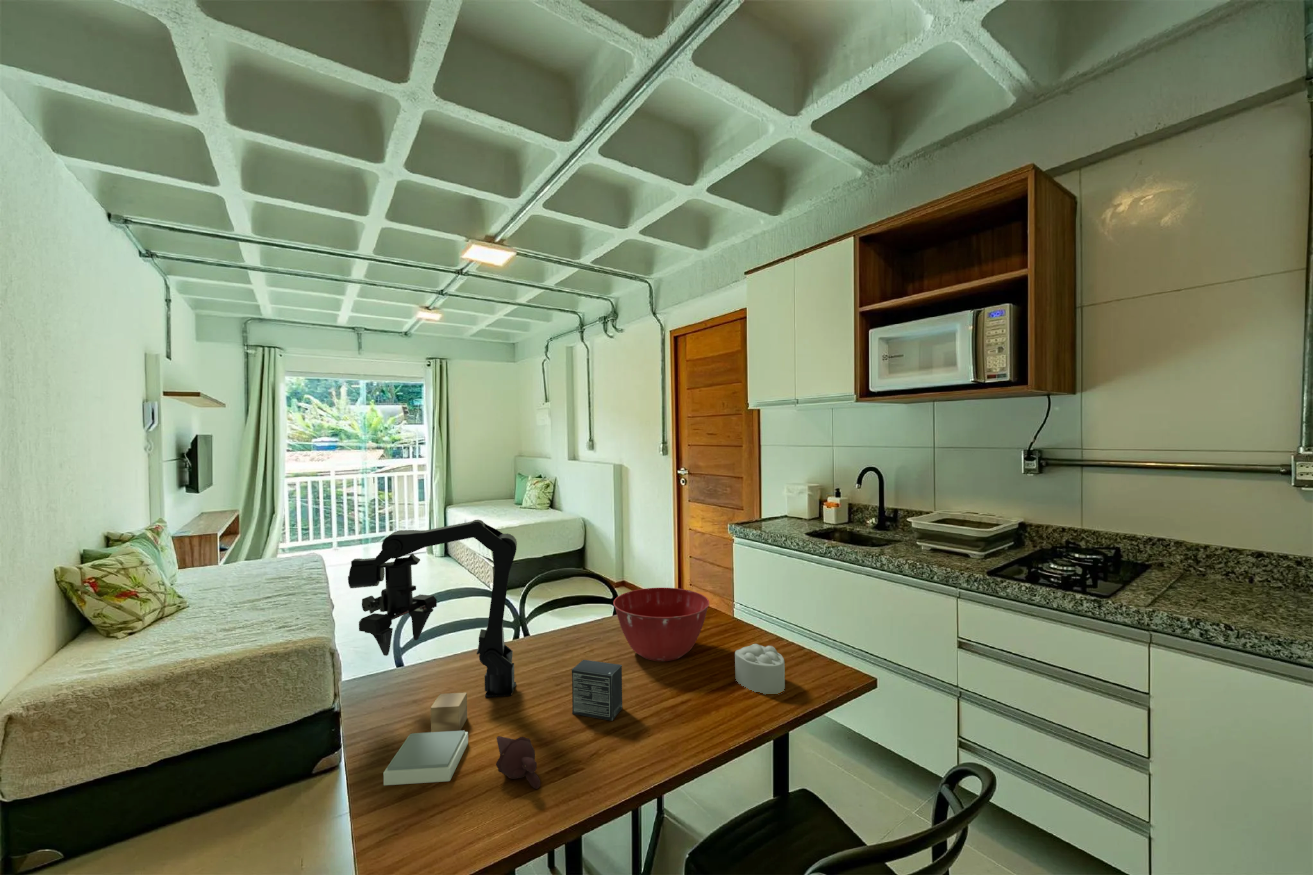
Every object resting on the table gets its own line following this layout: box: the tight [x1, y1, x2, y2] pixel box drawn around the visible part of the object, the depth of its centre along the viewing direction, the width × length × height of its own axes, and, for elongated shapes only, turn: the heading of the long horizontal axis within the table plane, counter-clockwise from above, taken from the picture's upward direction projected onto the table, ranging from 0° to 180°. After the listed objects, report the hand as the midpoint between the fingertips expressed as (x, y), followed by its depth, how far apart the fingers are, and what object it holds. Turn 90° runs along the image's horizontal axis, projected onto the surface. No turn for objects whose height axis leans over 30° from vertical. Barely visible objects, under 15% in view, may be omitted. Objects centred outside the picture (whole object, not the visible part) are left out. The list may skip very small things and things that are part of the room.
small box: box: [571, 659, 623, 722], centre depth 121 cm, size 11×6×10 cm, turn 71°
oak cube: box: [430, 692, 468, 732], centre depth 115 cm, size 6×6×6 cm
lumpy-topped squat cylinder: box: [734, 643, 786, 695], centre depth 133 cm, size 10×13×9 cm
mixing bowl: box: [612, 587, 710, 662], centre depth 153 cm, size 28×28×16 cm
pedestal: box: [383, 729, 469, 786], centre depth 102 cm, size 12×12×3 cm
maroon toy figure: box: [495, 735, 541, 790], centre depth 99 cm, size 7×7×15 cm
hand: (401, 647), depth 125 cm, fingers open, 9 cm apart
